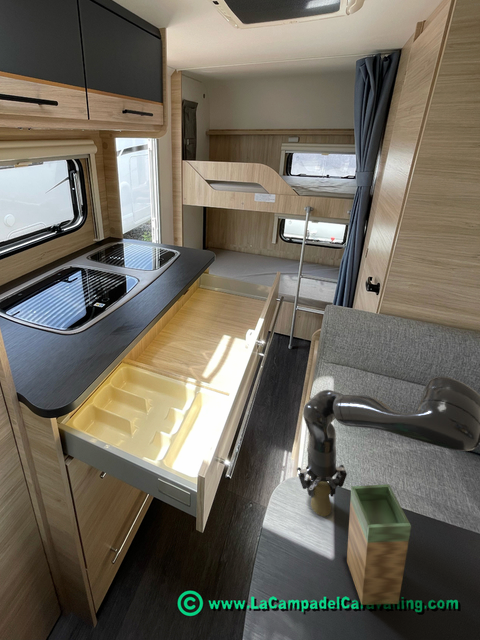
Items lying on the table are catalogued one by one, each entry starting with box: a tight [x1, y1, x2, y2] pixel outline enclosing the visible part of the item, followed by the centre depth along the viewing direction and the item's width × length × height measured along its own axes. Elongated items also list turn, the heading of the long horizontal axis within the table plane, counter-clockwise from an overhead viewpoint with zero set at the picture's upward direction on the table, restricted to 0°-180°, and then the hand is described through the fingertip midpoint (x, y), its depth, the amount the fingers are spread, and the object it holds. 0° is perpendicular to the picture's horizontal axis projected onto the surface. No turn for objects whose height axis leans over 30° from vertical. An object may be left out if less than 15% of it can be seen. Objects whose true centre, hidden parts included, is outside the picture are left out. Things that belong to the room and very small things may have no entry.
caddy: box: [346, 483, 412, 606], centre depth 77 cm, size 9×9×30 cm
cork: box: [310, 481, 332, 517], centre depth 97 cm, size 6×6×11 cm
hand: (321, 493), depth 97 cm, fingers closed on cork, 5 cm apart
